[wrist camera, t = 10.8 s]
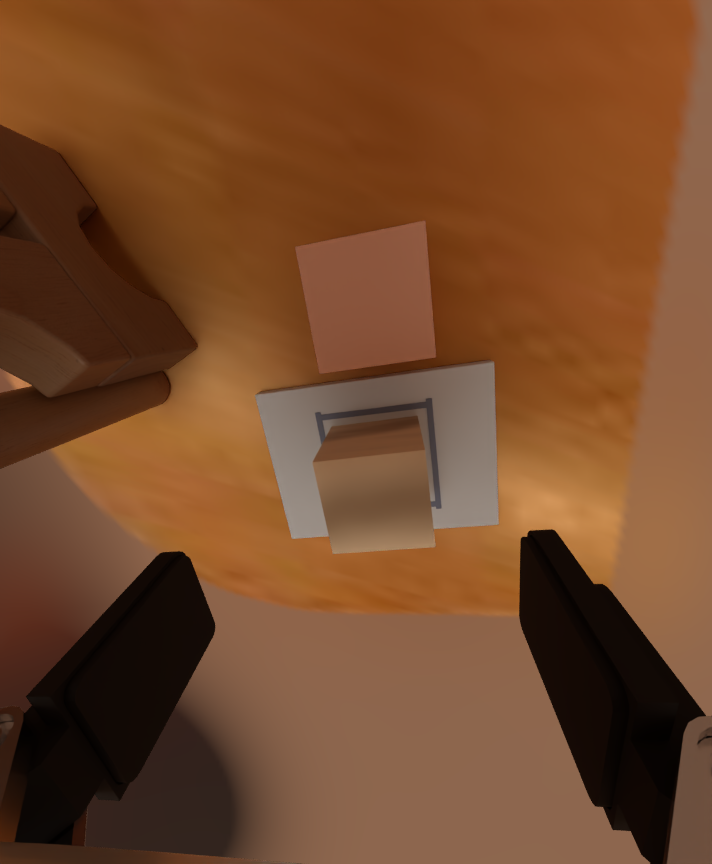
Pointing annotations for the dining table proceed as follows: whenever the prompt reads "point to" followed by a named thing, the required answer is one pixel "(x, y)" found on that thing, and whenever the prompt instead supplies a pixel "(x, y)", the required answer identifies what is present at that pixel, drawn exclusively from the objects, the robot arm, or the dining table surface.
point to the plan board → (380, 400)
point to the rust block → (369, 298)
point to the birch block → (375, 486)
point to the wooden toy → (69, 314)
